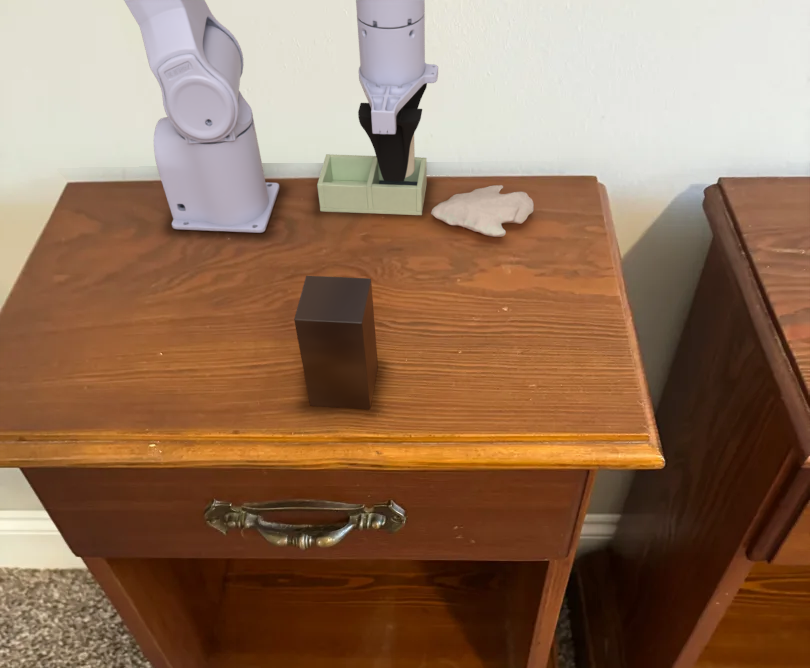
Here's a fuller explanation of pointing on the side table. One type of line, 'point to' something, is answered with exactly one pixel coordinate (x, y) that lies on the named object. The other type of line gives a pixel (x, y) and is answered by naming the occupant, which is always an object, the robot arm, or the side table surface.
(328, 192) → the green divided box
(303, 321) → the stand
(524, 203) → the arrowhead
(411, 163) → the beige cylinder
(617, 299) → the side table surface
